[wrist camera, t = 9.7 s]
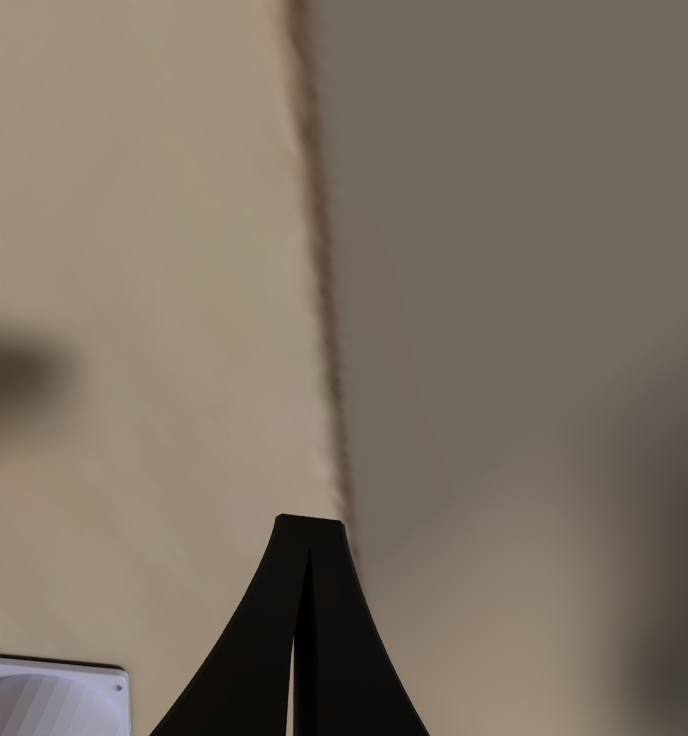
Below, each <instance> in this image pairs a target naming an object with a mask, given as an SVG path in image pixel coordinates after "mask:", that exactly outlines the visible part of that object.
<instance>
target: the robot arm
mask: <svg viewBox="0 0 688 736" xmlns="http://www.w3.org/2000/svg"><path fill="white" fill-rule="evenodd" d="M293 638H294V690H293V736H430V735H429V733H428V732H427V730H426V728H425V726H424V724H423V723H422V721H421V719H420V717H419V715H418V714H417V712H416V710H415V708H414V706H413V705H412V703H411V701H410V699H409V697H408V695H407V693H406V691H405V689H404V687H403V685H402V683H401V681H400V679H399V677H398V675H397V673H396V671H395V669H394V667H393V665H392V663H391V661H390V659H389V656H388V654H387V652H386V649H385V647H384V645H383V643H382V640H381V638H380V636H379V634H378V631H377V629H376V626H375V624H374V621H373V619H372V616H371V613H370V611H369V608H368V605H367V603H366V600H365V597H364V595H363V592H362V589H361V586H360V583H359V580H358V577H357V574H356V571H355V567H354V564H353V561H352V557H351V553H350V550H349V546H348V541H347V537H346V532H345V525H344V524H343V523H342V522H341V521H339V520H331V519H323V518H314V517H306V516H298V515H289V514H280V515H279V516H277V517H276V519H275V523H274V528H273V531H272V534H271V537H270V540H269V543H268V546H267V548H266V551H265V553H264V555H263V558H262V560H261V562H260V564H259V567H258V569H257V571H256V573H255V575H254V577H253V579H252V581H251V583H250V585H249V587H248V589H247V591H246V593H245V595H244V597H243V598H242V600H241V602H240V604H239V606H238V607H237V609H236V611H235V612H234V614H233V616H232V617H231V619H230V621H229V623H228V624H227V626H226V628H225V629H224V631H223V633H222V635H221V636H220V638H219V639H218V641H217V642H216V644H215V646H214V647H213V649H212V650H211V652H210V653H209V655H208V656H207V658H206V659H205V661H204V662H203V664H202V665H201V667H200V668H199V670H198V671H197V673H196V674H195V675H194V677H193V678H192V680H191V681H190V683H189V684H188V685H187V687H186V688H185V689H184V691H183V692H182V693H181V695H180V696H179V697H178V699H177V700H176V702H175V703H174V704H173V706H172V707H171V708H170V710H169V711H168V712H167V714H166V715H165V716H164V717H163V719H162V720H161V721H160V723H159V724H158V725H157V726H156V728H155V729H154V730H153V731H152V733H151V734H150V735H149V736H286V725H287V709H288V694H289V680H290V665H291V653H292V646H293ZM0 736H131V720H130V694H129V676H128V674H127V673H126V672H125V671H123V670H119V669H110V668H99V667H89V666H79V665H69V664H58V663H48V662H38V661H28V660H17V659H7V658H0Z"/></svg>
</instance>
